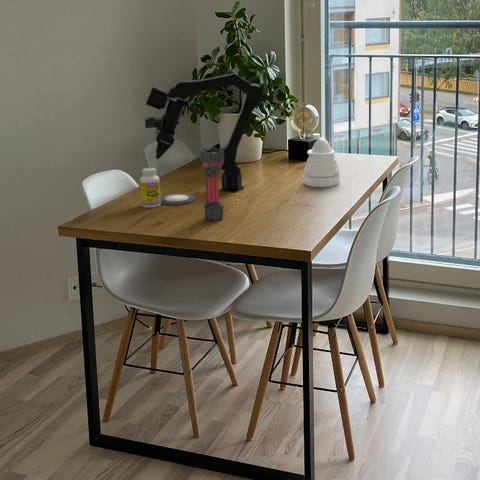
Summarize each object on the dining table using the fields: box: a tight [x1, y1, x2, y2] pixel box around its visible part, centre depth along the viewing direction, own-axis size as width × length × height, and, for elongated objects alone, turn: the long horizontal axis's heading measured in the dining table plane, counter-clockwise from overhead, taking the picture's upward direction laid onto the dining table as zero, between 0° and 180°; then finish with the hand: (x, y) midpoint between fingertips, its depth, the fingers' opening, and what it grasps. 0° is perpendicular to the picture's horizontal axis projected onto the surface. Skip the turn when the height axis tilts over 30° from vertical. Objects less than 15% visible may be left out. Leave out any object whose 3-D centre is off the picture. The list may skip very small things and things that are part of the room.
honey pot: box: [303, 133, 340, 188], centre depth 324 cm, size 13×13×18 cm
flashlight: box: [200, 146, 224, 222], centre depth 281 cm, size 8×8×23 cm
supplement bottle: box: [139, 167, 162, 209], centre depth 302 cm, size 7×7×13 cm
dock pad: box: [160, 193, 196, 207], centre depth 309 cm, size 13×13×1 cm
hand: (157, 155), depth 315 cm, fingers open, 9 cm apart
